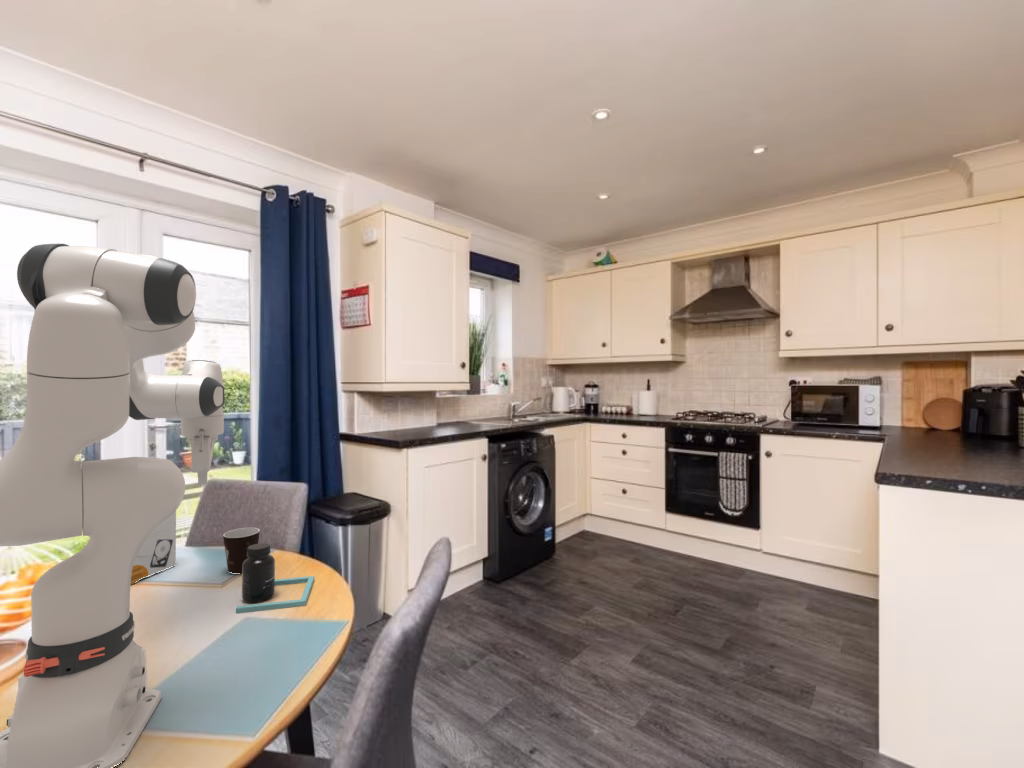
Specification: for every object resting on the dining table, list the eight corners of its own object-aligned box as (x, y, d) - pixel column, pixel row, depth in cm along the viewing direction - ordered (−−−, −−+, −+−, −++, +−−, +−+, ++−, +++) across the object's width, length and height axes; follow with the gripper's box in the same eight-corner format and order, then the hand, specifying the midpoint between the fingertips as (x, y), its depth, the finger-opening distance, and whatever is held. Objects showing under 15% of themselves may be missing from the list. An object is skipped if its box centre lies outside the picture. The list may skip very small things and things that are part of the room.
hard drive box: (121, 590, 117) (120, 508, 117) (95, 587, 119) (94, 506, 119) (177, 565, 133) (176, 493, 132) (154, 563, 134) (153, 492, 134)
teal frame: (305, 605, 109) (305, 601, 109) (235, 613, 106) (235, 608, 106) (314, 579, 123) (314, 575, 123) (252, 585, 120) (252, 581, 120)
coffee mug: (228, 565, 133) (227, 529, 133) (262, 561, 135) (262, 526, 135) (215, 582, 122) (215, 543, 121) (254, 578, 124) (253, 539, 124)
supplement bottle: (274, 600, 112) (273, 549, 112) (240, 606, 109) (240, 553, 109) (275, 589, 118) (275, 540, 118) (243, 593, 115) (243, 543, 115)
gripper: (216, 432, 110) (217, 492, 111) (218, 422, 128) (218, 473, 128) (183, 433, 107) (183, 495, 108) (189, 422, 125) (190, 476, 125)
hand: (202, 483), depth 118 cm, fingers closed
